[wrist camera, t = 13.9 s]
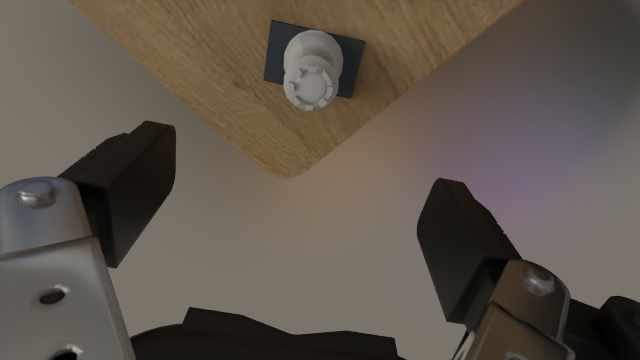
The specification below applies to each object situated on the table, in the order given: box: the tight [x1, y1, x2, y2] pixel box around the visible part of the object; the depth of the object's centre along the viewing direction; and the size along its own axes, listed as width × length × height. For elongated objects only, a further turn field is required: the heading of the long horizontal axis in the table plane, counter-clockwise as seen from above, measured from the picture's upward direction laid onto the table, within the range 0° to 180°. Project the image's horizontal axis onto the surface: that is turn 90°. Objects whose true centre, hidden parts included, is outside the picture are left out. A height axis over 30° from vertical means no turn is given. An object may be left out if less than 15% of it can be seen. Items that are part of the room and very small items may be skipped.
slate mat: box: [264, 20, 365, 99], centre depth 28 cm, size 7×4×1 cm, turn 78°
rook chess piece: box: [284, 30, 343, 111], centre depth 24 cm, size 4×4×8 cm
